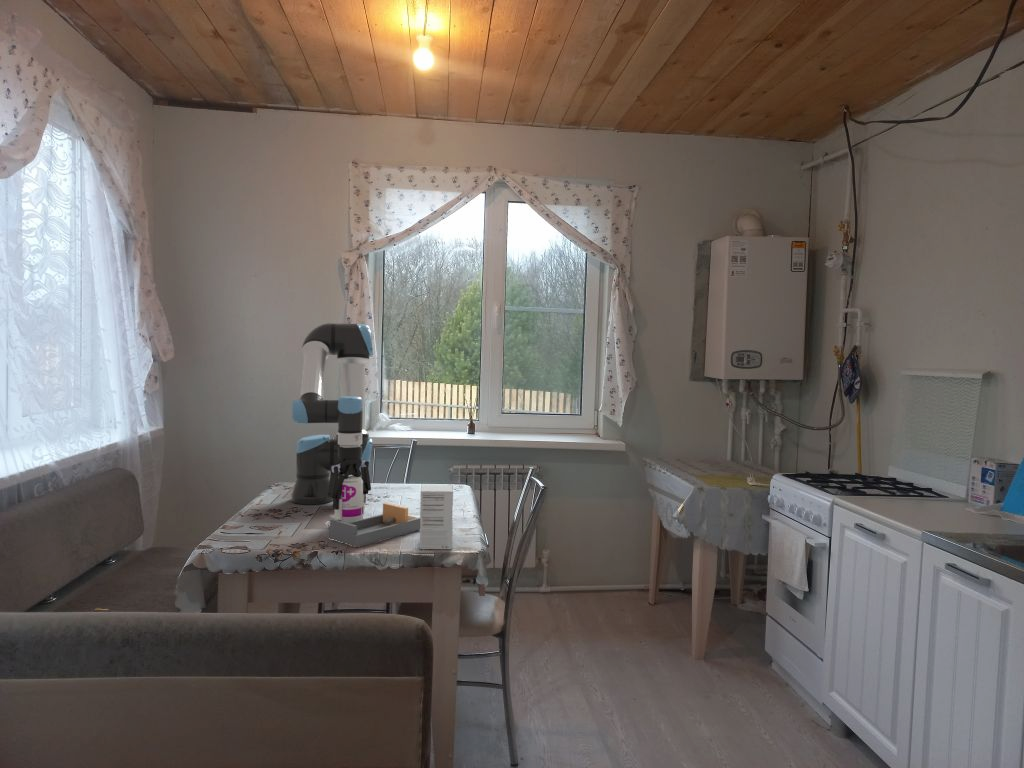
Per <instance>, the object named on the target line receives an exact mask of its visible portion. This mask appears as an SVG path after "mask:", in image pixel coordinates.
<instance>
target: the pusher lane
mask: <svg viewBox="0 0 1024 768" xmlns="http://www.w3.org/2000/svg"><path fill="white" fill-rule="evenodd" d="M327 529H328V530H327V531H328V532H327V533H328V534H327V535H328V536H327V537H328V538H330V539H334V540H337V541H340V542H343V543H347V544H350V545H352V546H355V547H358V548H360V547H359V546H361V547H364V546H363V545H365V546H367V545H366V544H368V545H371V544H375V543H378V542H381V541H380V540H382V541H385V540H388V538H389V539H392V538H395V536H396V537H399V536H402V535H405V534H409V533H413V532H416V530H417V531H420V530H419V529H420V516H415V515H411V514H408V521H405V522H402V523H398V524H394V525H391V524H386V523H384V522H383V513H382V514H378V515H373V516H370V517H366V518H365V517H364V518H363V519H361V520H357V521H353V522H349V523H346V522H342V521H338V520H336V519H335V518H332V519H329V526H328V528H327ZM328 538H327V539H328ZM384 539H385V540H384ZM377 541H378V542H377ZM374 542H375V543H374ZM370 543H371V544H370ZM355 547H354V548H355Z"/></svg>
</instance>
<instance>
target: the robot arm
mask: <svg viewBox="0 0 1024 768" xmlns="http://www.w3.org/2000/svg"><path fill="white" fill-rule="evenodd" d="M301 354H302V357H303V366H302V376H301V385H300V394H299V398H298V399H295V400H293V401H292V404H291V418H292V422H293V423H295V424H337V425H338V427H337V428H338V429H337V432H336V434H335V436H336V437H335V438H331V436H330V434H315V435H309V436H305V437H301V438H300V439H298V441H297V442H296V449H295V450H296V451H295V453H296V465H295V466H296V471H295V473H296V475H295V476H296V478H295V482H294V484H293V489H292V492H291V497H290V501H291V503H294V504H297V505H323V504H326V503H330V502H332V508H333V510H334V519H335V520H336V519H338V520H342V499H340V496H341V493H342V484H343V481H344V479H347V478H348V477H349V475H353V476H356V477H360V476H361V478H362V480H363V515H365V504H366V502H367V498H366V497H367V495H368V494H369V491H371V490H372V486H371V478H370V471H369V467H370V462H371V456H372V449H373V439H372V438H371V437H369V435H370V434H369V432H368V431H367V430H366V429H365V427H366V425H365V424H366V422H365V419H366V418H365V406H366V403H365V402H366V395H365V394H366V393H365V392H366V364H368V362H370V357H372V356H373V355H374V349H373V340H372V332H371V328H370V326H369V325H367V324H362V323H331V322H330V323H329V322H328V323H322V324H320V325H318V326H316V327H315V328H313V329H312V330H311V331H310V332H309V333H308V334H307V336H306V337H305V338H304V339H303V343H302V347H301ZM329 356H336V360H337V361H338V363H340V366H341V368H340V369H341V371H340V373H341V374H340V376H341V377H340V397H339V398H338V399H325V395H324V394H325V384H326V383H325V381H326V367H327V366H326V365H327V360H328V358H329Z"/></svg>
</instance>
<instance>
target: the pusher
mask: <svg viewBox="0 0 1024 768" xmlns="http://www.w3.org/2000/svg"><path fill="white" fill-rule="evenodd" d="M382 514H383V522H384V523H386V524H391V525H394V524H398V523H402V522H405V521H408V515H409V508H408V507H405V506H400V505H396V504H393V503H389V502H383V503H382Z"/></svg>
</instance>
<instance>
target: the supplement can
mask: <svg viewBox="0 0 1024 768" xmlns="http://www.w3.org/2000/svg"><path fill="white" fill-rule="evenodd" d="M361 477H362V475H361V476H360V477H356V476H353V475H349V477H348V478H347V479H344V481H343V484H342V493H341V496H340V499H342V520H338V519H335V520H338V521H342V522H346V523H349V522H353V521H357V520H361V519H364V517H363V516H364V514H363V480H362V478H361Z"/></svg>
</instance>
